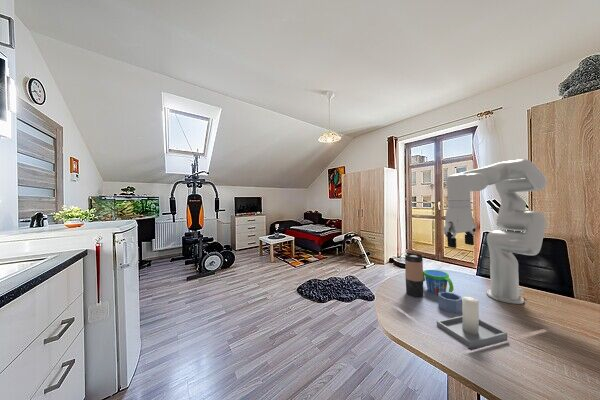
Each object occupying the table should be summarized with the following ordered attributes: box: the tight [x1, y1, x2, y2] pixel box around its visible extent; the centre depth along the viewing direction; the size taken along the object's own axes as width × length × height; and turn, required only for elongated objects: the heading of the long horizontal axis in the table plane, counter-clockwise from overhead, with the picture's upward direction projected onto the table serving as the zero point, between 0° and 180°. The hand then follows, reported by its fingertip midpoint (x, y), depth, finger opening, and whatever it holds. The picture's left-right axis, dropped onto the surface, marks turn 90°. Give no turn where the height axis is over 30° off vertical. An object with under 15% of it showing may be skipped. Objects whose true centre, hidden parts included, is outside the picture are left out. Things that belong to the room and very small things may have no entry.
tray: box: [436, 315, 508, 351], centre depth 73 cm, size 16×12×2 cm
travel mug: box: [404, 253, 424, 298], centre depth 102 cm, size 8×8×20 cm
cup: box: [437, 291, 463, 314], centre depth 89 cm, size 8×8×6 cm
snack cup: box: [423, 269, 454, 295], centre depth 105 cm, size 16×10×10 cm
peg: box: [461, 296, 480, 335], centre depth 73 cm, size 4×4×11 cm
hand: (460, 245), depth 86 cm, fingers open, 9 cm apart
